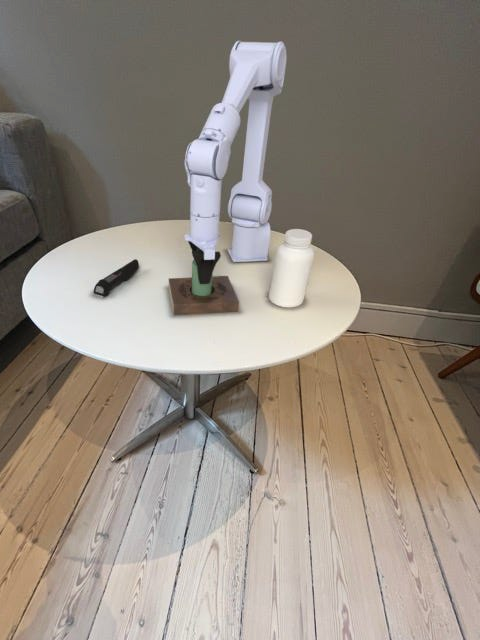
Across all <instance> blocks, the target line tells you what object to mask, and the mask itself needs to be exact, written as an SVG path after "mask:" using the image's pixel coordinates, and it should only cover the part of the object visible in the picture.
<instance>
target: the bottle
mask: <svg viewBox="0 0 480 640" xmlns="http://www.w3.org/2000/svg"><path fill="white" fill-rule="evenodd" d="M197 251H202V250H201V249H200V248H198V247H197ZM191 277H192V294H195V295H198V296H207V295H210V294H211V291H212V277H211V280H210V283H209V284H200V283H199V279H198V272H197V265H196V262H195V260H194V259H193V260H192V262H191Z"/></svg>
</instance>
